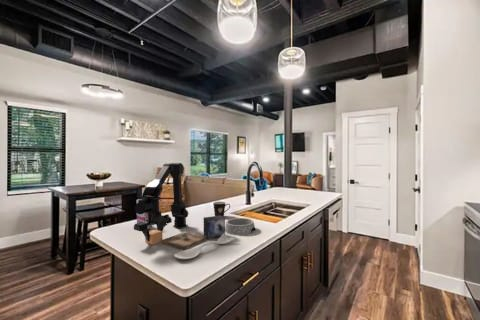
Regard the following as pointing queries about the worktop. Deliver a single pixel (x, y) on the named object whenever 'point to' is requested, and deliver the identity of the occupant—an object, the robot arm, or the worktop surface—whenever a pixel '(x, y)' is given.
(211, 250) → the worktop surface
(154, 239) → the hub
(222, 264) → the worktop surface
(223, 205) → the coffee mug
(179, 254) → the spoon
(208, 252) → the worktop surface
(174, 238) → the base plate
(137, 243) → the worktop surface
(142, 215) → the candy bar box
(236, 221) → the dog bowl
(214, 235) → the small box
